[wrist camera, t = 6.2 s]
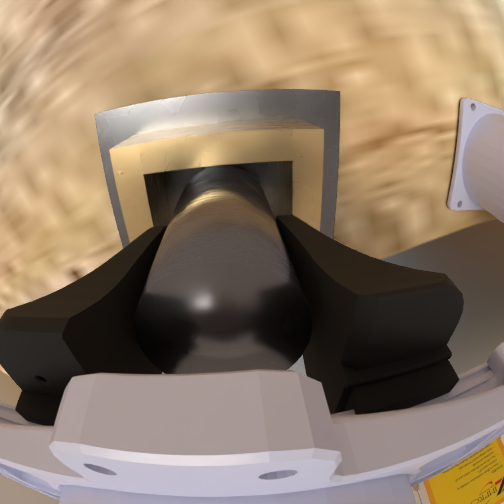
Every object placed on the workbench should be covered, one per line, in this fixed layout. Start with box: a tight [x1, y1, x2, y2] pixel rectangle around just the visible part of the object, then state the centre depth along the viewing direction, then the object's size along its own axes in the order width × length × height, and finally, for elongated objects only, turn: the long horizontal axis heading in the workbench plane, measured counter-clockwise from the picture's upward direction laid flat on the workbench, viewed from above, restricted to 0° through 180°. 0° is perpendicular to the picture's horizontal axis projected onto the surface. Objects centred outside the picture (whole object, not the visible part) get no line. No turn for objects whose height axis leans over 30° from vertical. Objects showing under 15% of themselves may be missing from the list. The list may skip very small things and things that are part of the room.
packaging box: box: [413, 436, 504, 504], centre depth 32 cm, size 16×16×25 cm
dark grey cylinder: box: [134, 166, 313, 374], centre depth 10 cm, size 4×4×8 cm
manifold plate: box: [95, 89, 340, 249], centre depth 16 cm, size 12×18×4 cm, turn 3°
